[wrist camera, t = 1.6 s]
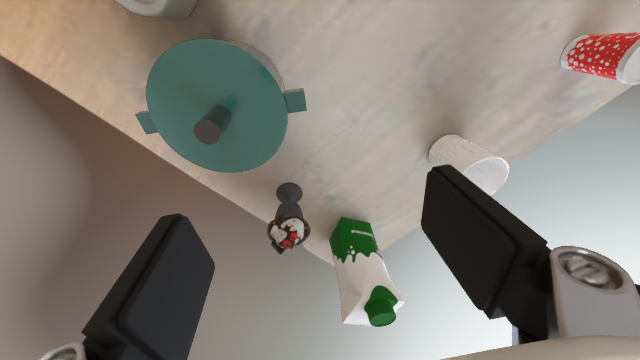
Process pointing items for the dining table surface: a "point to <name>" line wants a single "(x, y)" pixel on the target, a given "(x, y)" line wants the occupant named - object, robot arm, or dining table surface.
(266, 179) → the dining table surface
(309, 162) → the dining table surface
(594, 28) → the dining table surface
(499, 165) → the white cup
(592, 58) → the beverage cup
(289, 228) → the sundae
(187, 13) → the lumpy-topped squat cylinder
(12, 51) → the dining table surface
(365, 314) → the milk carton
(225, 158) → the lid
